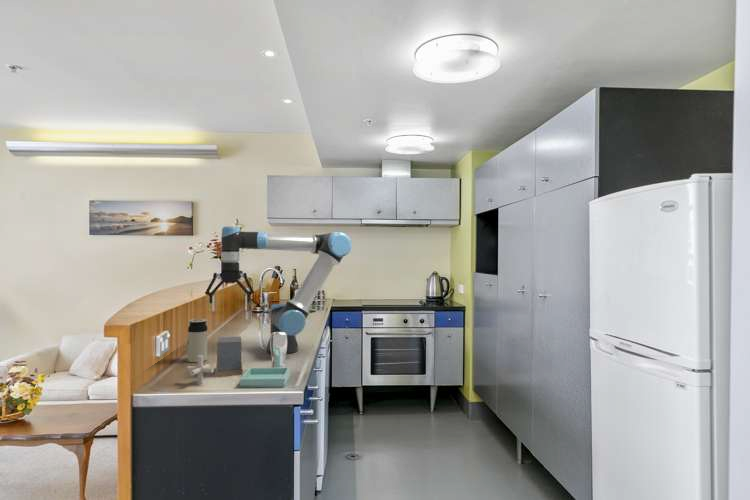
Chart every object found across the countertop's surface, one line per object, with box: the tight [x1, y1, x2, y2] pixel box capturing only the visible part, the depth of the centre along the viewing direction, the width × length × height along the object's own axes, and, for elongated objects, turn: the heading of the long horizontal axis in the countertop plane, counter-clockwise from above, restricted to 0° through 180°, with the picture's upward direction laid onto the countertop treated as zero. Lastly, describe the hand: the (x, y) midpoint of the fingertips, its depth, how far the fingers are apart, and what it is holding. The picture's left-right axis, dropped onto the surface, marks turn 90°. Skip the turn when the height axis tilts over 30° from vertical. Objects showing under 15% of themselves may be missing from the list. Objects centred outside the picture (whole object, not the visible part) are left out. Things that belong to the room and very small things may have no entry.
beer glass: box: [269, 332, 287, 368], centre depth 180 cm, size 7×7×15 cm
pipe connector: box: [186, 355, 215, 385], centre depth 161 cm, size 10×10×10 cm
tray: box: [239, 367, 291, 389], centre depth 164 cm, size 16×16×3 cm
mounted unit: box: [214, 336, 244, 378], centre depth 177 cm, size 13×10×13 cm
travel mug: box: [187, 318, 208, 363], centre depth 195 cm, size 8×8×18 cm
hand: (229, 310), depth 192 cm, fingers open, 13 cm apart
